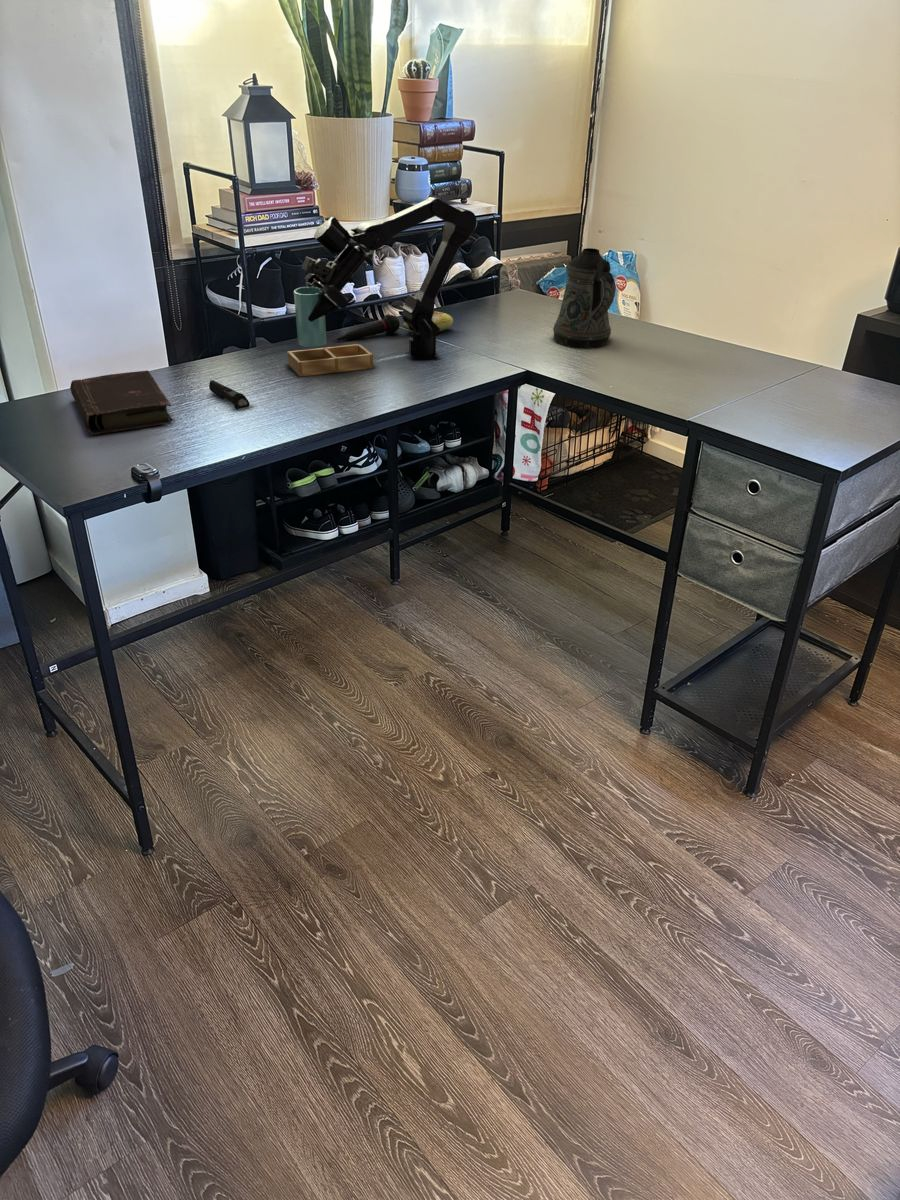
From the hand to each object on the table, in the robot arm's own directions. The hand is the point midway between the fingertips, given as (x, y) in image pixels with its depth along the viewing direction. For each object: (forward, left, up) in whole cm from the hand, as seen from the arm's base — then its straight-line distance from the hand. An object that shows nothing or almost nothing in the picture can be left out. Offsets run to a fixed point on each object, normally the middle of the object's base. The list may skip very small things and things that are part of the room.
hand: (304, 316), depth 222 cm
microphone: (-20, -29, -14) cm, 37 cm away
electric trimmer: (+20, +21, -14) cm, 32 cm away
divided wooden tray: (-6, -1, -13) cm, 15 cm away
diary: (+43, +25, -13) cm, 52 cm away
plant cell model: (-38, -31, -10) cm, 50 cm away
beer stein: (-81, -14, -13) cm, 83 cm away
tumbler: (-1, -1, -7) cm, 7 cm away
